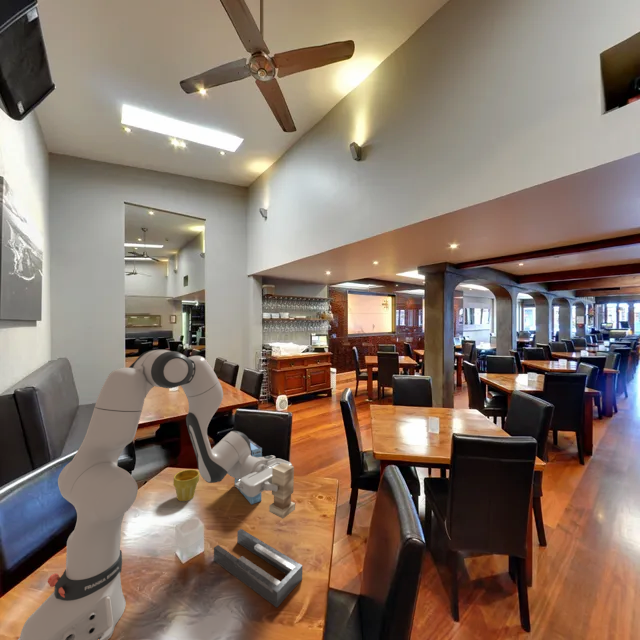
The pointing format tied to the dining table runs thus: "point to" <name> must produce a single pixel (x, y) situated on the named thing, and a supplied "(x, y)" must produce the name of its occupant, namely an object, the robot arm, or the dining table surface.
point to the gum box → (257, 452)
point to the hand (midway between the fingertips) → (284, 484)
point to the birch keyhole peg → (282, 490)
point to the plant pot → (186, 484)
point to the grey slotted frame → (255, 575)
